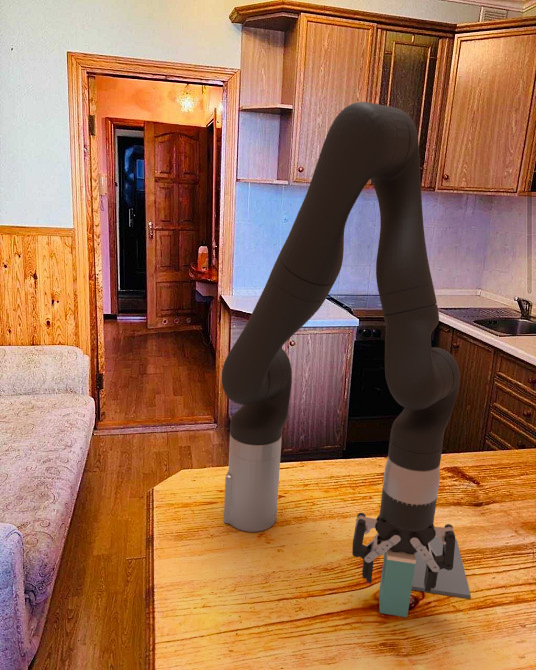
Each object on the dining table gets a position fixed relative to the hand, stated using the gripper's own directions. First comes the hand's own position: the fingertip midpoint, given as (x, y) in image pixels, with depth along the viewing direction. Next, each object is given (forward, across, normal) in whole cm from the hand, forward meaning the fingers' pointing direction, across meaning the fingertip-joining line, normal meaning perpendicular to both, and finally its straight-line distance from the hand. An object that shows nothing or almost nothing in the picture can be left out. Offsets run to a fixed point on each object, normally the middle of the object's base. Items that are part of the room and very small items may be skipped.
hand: (397, 583), depth 84 cm
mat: (+4, +6, +11) cm, 13 cm away
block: (+4, 0, 0) cm, 4 cm away
